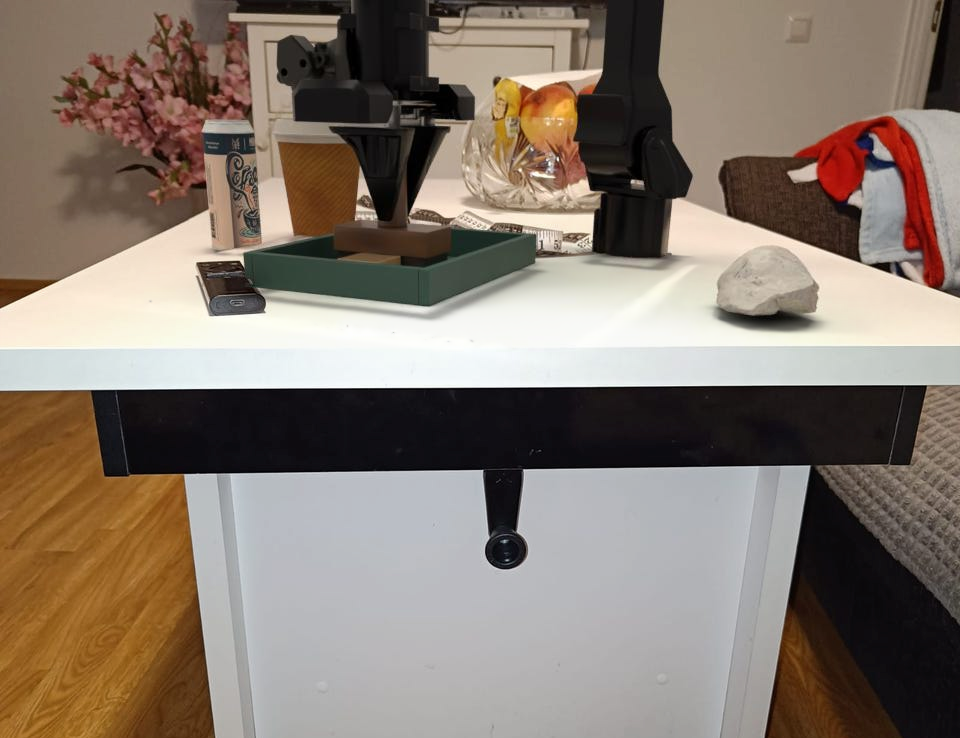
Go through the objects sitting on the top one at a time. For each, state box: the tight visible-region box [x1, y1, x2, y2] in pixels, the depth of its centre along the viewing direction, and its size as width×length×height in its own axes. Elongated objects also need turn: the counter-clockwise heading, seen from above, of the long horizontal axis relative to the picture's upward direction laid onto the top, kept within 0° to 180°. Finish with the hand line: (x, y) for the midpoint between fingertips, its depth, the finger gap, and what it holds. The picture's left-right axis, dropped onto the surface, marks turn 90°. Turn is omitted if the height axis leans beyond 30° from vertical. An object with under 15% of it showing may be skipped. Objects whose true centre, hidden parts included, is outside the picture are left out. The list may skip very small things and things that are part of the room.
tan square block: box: [338, 253, 401, 265], centre depth 72 cm, size 4×4×2 cm
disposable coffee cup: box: [271, 118, 361, 238], centre depth 97 cm, size 10×10×12 cm
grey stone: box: [716, 244, 820, 317], centre depth 67 cm, size 9×8×5 cm
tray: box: [242, 226, 537, 308], centre depth 77 cm, size 16×22×3 cm
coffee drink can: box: [201, 119, 263, 253], centre depth 89 cm, size 5×5×12 cm
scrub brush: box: [333, 165, 452, 268], centre depth 74 cm, size 8×4×8 cm, turn 66°
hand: (393, 219), depth 74 cm, fingers closed on scrub brush, 2 cm apart
